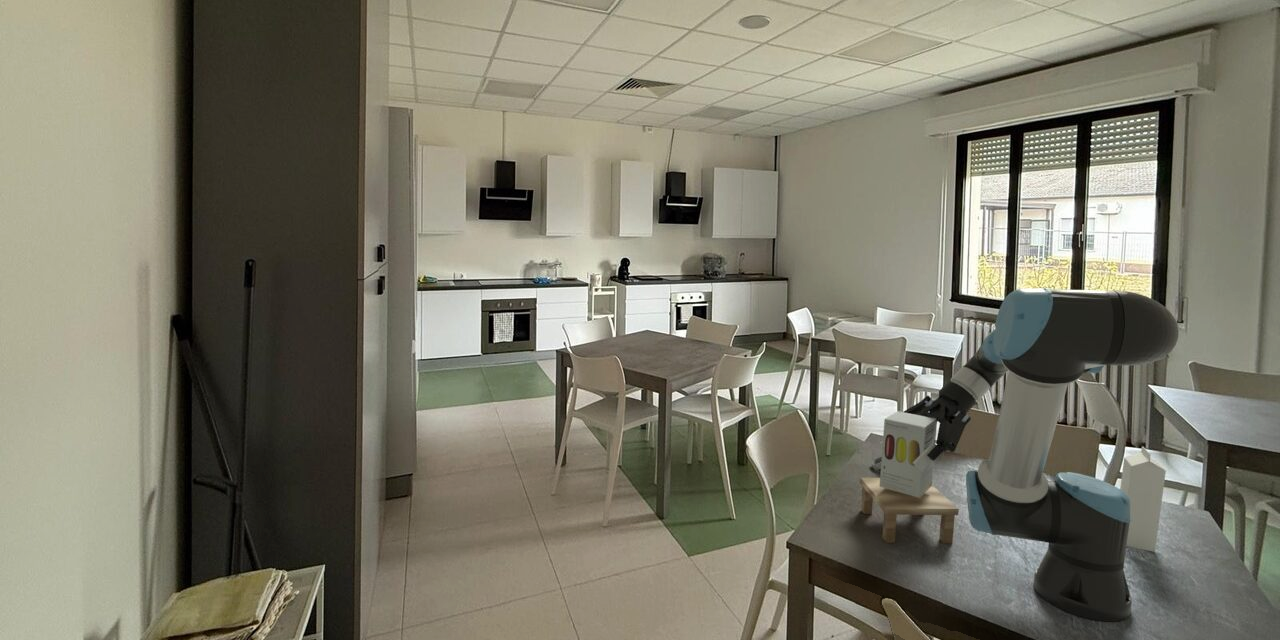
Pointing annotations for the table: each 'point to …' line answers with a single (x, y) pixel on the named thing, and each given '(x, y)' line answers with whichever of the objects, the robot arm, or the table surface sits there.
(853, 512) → the table surface
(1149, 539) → the milk
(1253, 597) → the table surface
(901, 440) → the supplement box
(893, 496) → the footstool
